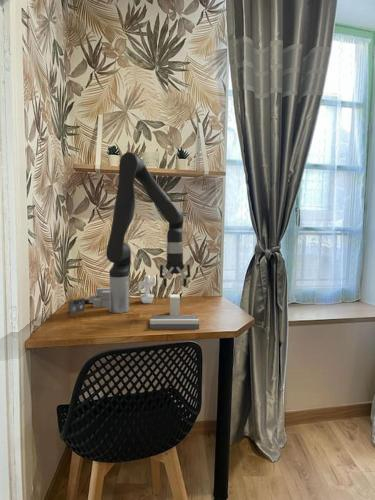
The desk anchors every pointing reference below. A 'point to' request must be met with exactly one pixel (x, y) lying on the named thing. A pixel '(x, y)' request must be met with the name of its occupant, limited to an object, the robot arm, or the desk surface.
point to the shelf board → (174, 322)
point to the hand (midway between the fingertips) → (175, 286)
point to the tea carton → (174, 304)
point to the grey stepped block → (100, 298)
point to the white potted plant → (147, 289)
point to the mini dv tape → (76, 306)
